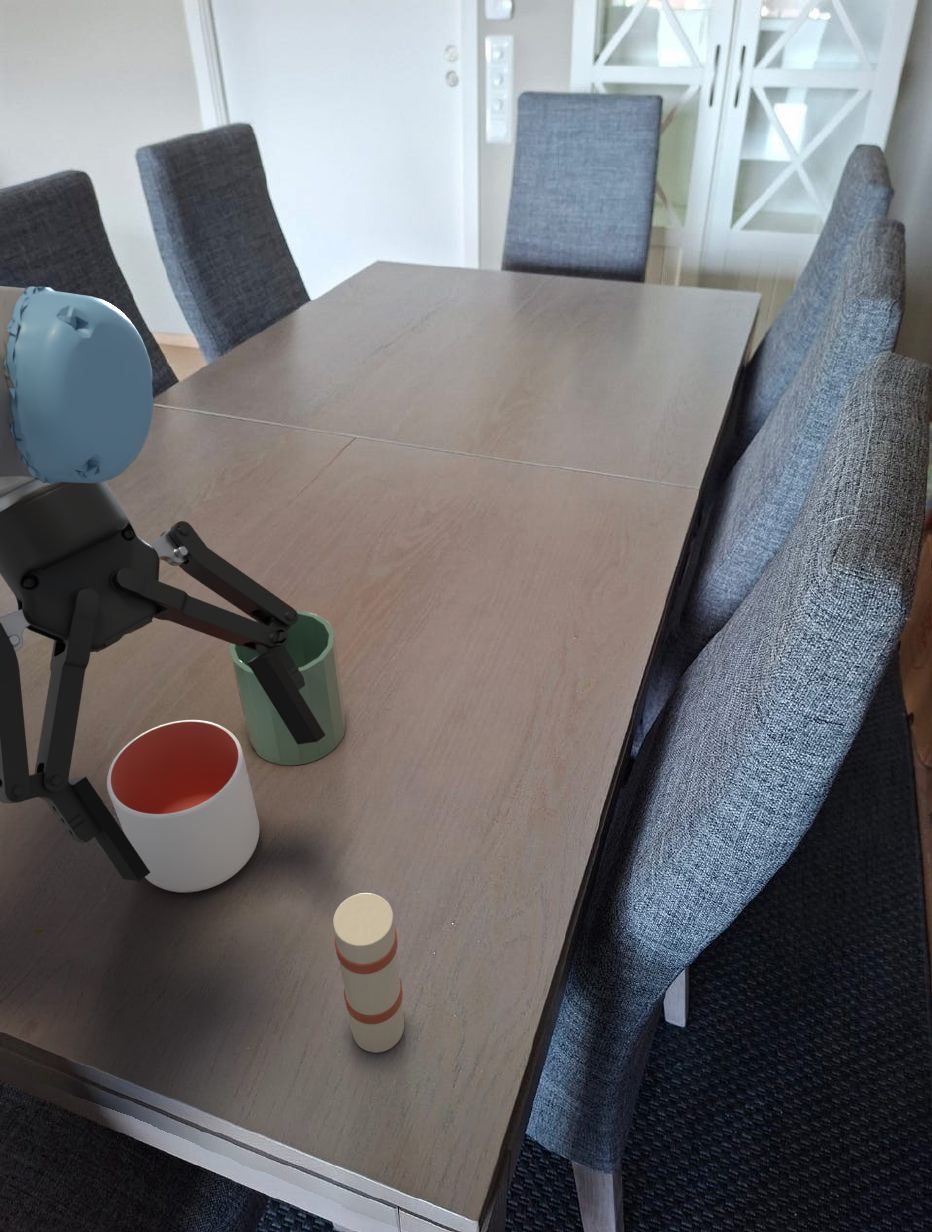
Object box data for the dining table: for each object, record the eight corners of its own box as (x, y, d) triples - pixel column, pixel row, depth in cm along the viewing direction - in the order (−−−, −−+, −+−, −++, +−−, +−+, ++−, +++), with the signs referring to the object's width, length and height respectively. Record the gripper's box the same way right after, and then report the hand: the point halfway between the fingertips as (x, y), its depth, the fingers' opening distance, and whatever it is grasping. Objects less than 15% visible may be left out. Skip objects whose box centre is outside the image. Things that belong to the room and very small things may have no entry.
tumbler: (289, 781, 78) (271, 690, 71) (231, 732, 83) (209, 642, 76) (364, 728, 83) (354, 639, 77) (306, 685, 88) (291, 598, 81)
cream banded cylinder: (376, 1066, 58) (360, 959, 50) (339, 1028, 60) (318, 919, 52) (417, 1025, 60) (407, 916, 52) (380, 990, 62) (366, 880, 55)
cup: (112, 880, 70) (77, 797, 64) (182, 789, 77) (157, 707, 71) (221, 915, 67) (196, 832, 61) (283, 817, 75) (266, 735, 69)
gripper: (188, 442, 60) (342, 699, 64) (-208, 614, 45) (27, 939, 49) (234, 402, 55) (400, 688, 59) (-201, 584, 39) (64, 955, 43)
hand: (231, 803), depth 54 cm, fingers open, 13 cm apart
